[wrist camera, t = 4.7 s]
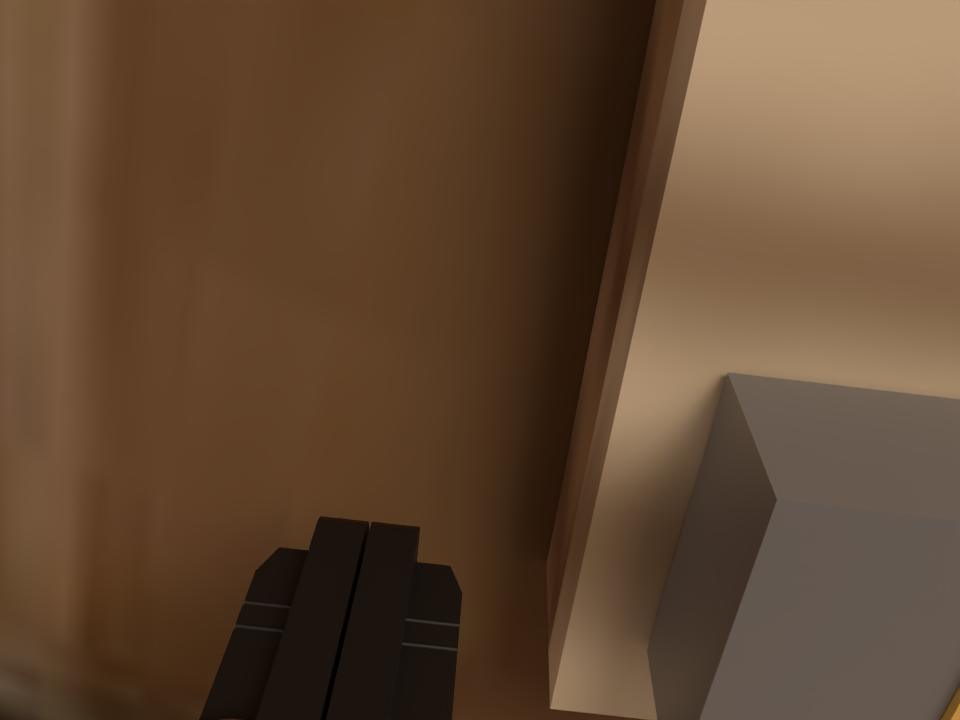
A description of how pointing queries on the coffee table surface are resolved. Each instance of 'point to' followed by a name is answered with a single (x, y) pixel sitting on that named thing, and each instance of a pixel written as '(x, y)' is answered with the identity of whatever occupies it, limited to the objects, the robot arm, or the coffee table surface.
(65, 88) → the coffee table surface
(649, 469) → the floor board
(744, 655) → the grey box
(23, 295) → the coffee table surface
